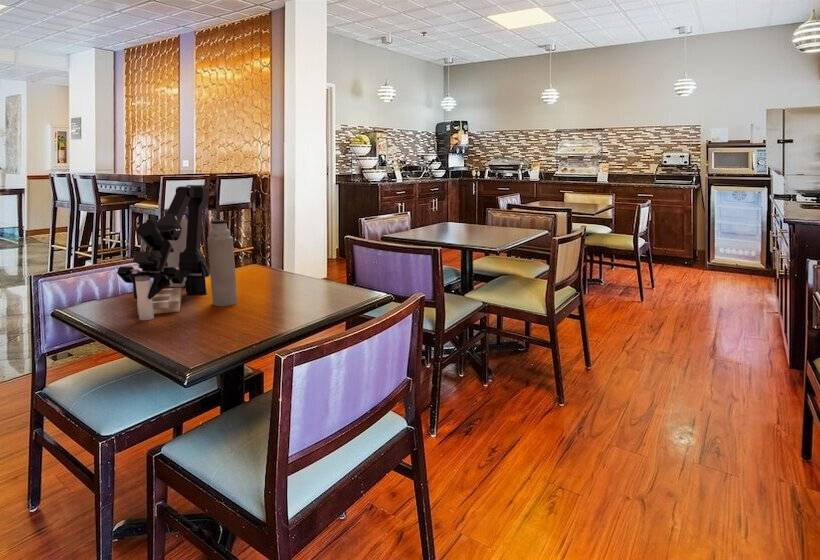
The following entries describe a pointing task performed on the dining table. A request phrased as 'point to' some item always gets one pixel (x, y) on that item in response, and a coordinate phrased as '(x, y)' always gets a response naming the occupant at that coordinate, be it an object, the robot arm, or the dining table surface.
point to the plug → (144, 297)
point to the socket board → (166, 301)
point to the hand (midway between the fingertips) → (142, 298)
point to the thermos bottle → (222, 264)
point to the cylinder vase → (178, 251)
